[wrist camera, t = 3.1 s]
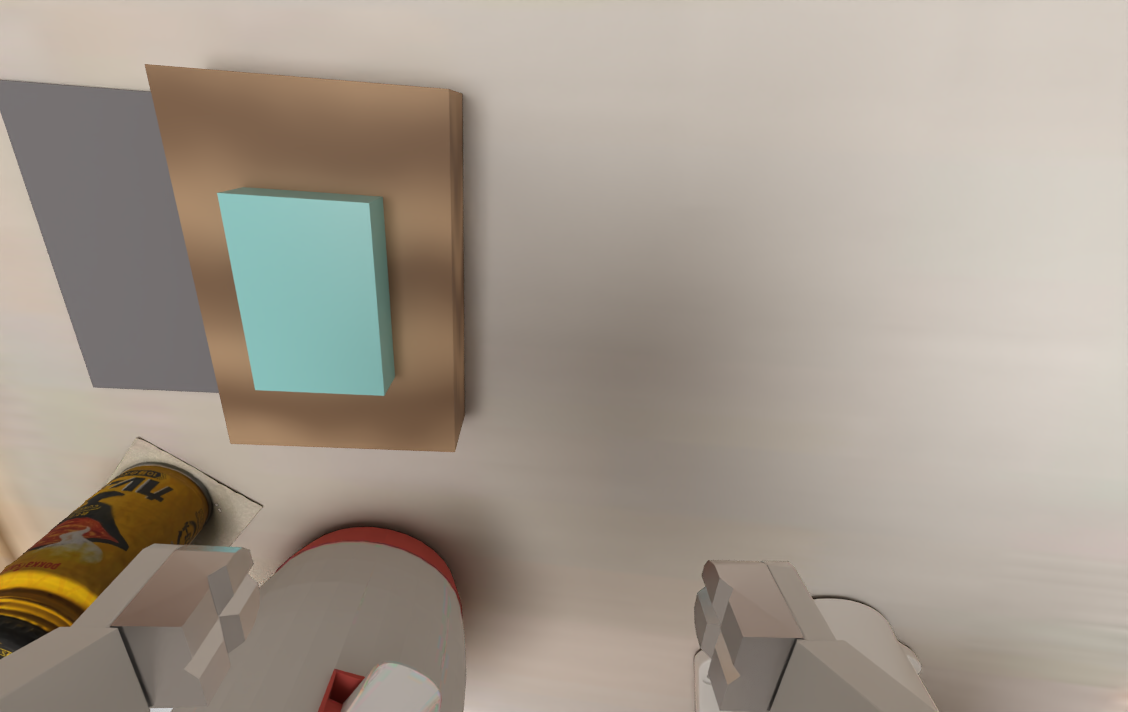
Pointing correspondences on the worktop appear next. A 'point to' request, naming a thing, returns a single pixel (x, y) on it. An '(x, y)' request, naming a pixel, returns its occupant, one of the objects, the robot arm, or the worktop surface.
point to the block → (311, 289)
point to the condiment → (114, 540)
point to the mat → (111, 232)
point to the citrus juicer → (352, 632)
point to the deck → (343, 166)
